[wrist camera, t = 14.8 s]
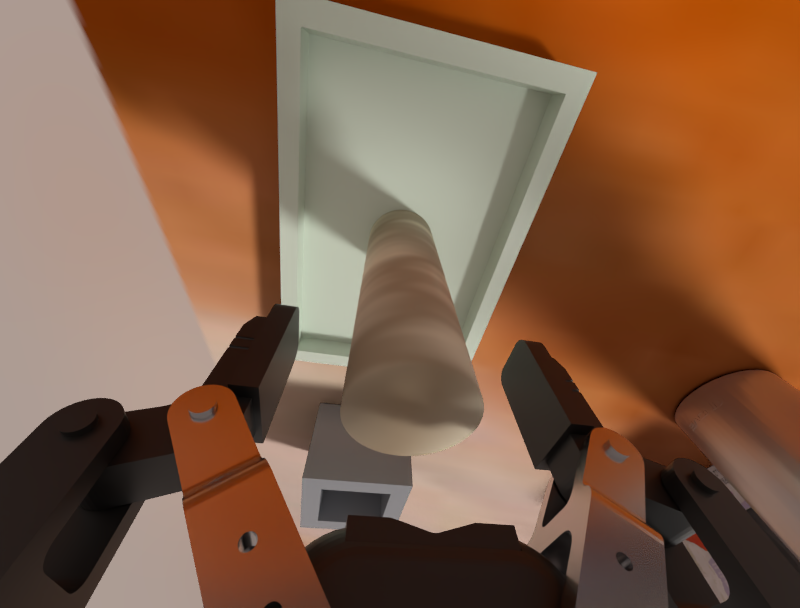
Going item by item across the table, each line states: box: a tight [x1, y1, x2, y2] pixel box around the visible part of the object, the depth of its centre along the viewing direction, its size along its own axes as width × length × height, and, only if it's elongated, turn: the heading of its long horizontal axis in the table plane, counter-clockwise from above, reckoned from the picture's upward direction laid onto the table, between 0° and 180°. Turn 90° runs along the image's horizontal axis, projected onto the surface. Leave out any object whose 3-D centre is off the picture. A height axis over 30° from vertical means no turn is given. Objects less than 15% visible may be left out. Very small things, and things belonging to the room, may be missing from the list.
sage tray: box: [275, 0, 597, 366], centre depth 19 cm, size 14×20×2 cm
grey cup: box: [300, 403, 413, 529], centre depth 29 cm, size 9×9×7 cm
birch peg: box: [340, 210, 484, 456], centre depth 14 cm, size 4×4×13 cm
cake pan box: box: [682, 465, 800, 603], centre depth 34 cm, size 19×5×18 cm, turn 156°
